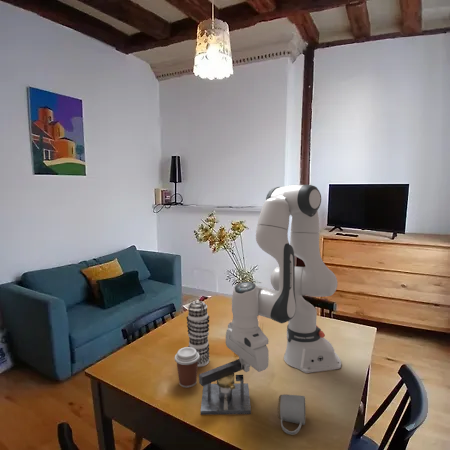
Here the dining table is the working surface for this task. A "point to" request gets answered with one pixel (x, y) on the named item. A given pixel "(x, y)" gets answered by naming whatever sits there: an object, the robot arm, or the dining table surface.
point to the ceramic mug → (291, 411)
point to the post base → (232, 403)
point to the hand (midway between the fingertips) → (245, 370)
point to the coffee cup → (187, 366)
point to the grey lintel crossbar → (221, 375)
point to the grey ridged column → (199, 330)
